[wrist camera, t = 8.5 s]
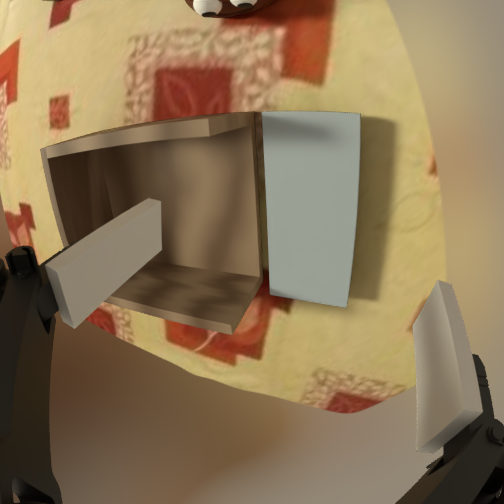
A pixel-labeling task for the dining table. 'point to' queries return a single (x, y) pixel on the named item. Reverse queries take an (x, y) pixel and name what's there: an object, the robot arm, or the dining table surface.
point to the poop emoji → (226, 7)
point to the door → (311, 202)
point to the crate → (171, 210)
